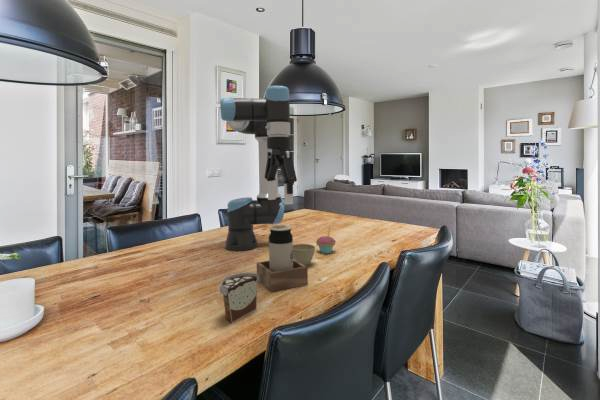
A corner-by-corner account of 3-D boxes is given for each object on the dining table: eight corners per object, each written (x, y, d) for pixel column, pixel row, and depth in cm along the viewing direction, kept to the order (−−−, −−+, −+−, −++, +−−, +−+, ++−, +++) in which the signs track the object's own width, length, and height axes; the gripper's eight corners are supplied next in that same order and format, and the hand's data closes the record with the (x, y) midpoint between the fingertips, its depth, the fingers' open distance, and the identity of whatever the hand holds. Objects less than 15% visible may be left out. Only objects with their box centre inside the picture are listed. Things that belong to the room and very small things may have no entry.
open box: (257, 279, 115) (256, 262, 114) (290, 272, 121) (290, 256, 120) (271, 292, 104) (271, 273, 103) (307, 284, 110) (307, 267, 109)
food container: (244, 302, 97) (242, 269, 95) (260, 307, 93) (259, 273, 92) (211, 319, 86) (209, 282, 85) (227, 326, 83) (225, 287, 82)
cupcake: (337, 250, 150) (337, 224, 148) (332, 255, 142) (332, 228, 140) (319, 248, 153) (318, 223, 151) (313, 253, 145) (313, 227, 143)
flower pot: (313, 269, 125) (312, 250, 124) (287, 267, 127) (287, 249, 126) (317, 261, 134) (316, 244, 134) (293, 260, 136) (292, 243, 136)
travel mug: (265, 281, 110) (264, 228, 108) (276, 273, 117) (275, 223, 115) (287, 284, 107) (286, 230, 105) (296, 276, 114) (296, 225, 112)
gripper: (254, 138, 116) (256, 198, 118) (284, 133, 94) (285, 207, 96) (274, 138, 119) (275, 197, 122) (307, 134, 97) (308, 205, 100)
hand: (279, 201), depth 109 cm, fingers open, 13 cm apart
